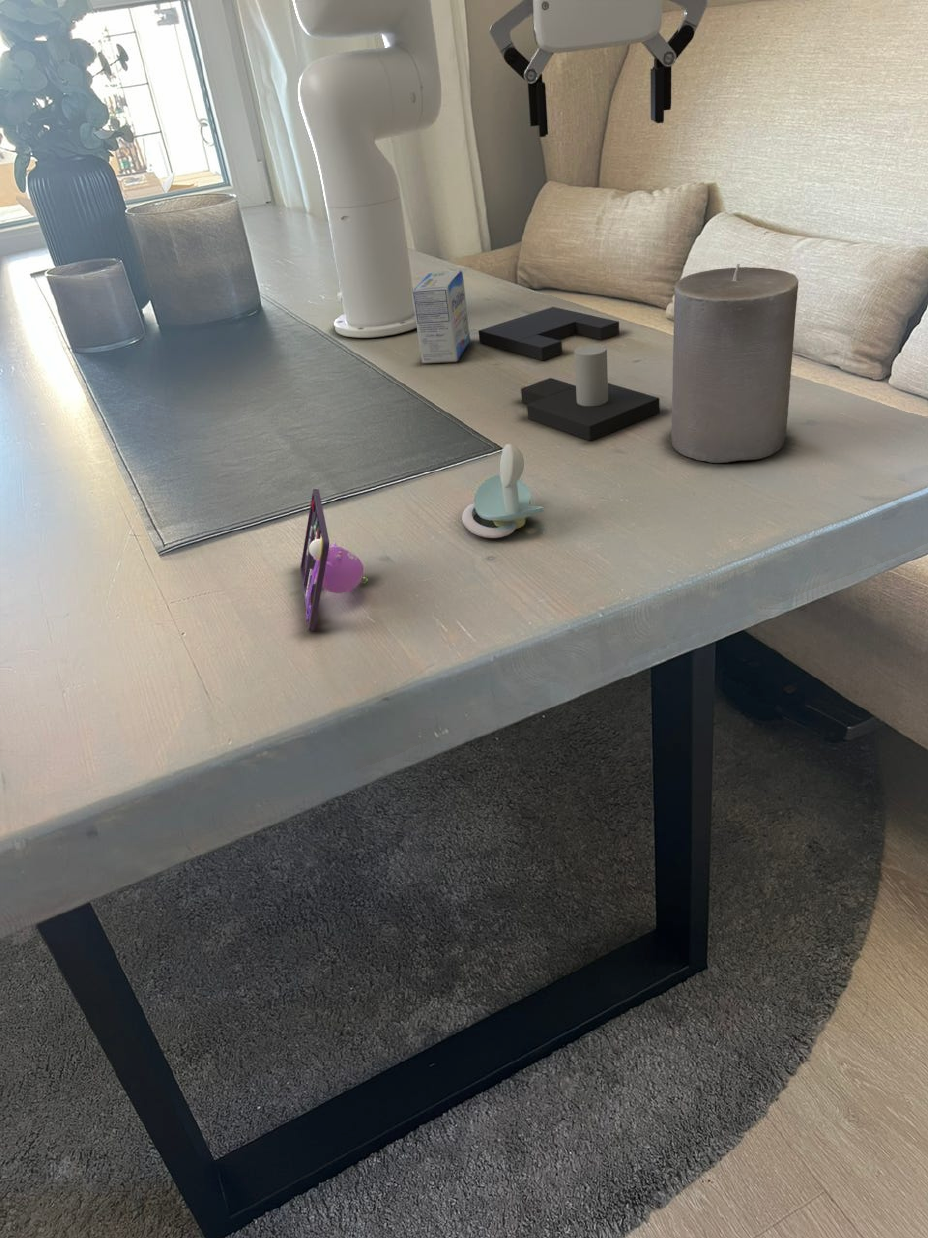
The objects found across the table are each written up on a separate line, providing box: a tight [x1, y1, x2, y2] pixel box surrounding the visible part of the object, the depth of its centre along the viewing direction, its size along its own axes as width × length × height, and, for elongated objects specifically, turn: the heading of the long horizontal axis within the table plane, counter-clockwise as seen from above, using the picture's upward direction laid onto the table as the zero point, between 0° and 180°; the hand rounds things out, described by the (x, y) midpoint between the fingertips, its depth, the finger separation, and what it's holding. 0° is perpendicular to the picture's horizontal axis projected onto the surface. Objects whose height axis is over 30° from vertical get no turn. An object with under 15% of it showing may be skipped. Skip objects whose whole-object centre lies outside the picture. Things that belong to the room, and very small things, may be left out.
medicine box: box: [412, 270, 471, 364], centre depth 111 cm, size 8×4×9 cm, turn 168°
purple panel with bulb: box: [299, 488, 369, 632], centre depth 66 cm, size 7×5×9 cm
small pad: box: [520, 344, 661, 442], centre depth 91 cm, size 13×9×6 cm
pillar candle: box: [670, 263, 799, 464], centre depth 78 cm, size 10×10×15 cm
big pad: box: [478, 306, 620, 361], centre depth 113 cm, size 12×12×2 cm
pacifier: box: [461, 443, 544, 539], centre depth 72 cm, size 7×6×6 cm
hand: (599, 128), depth 80 cm, fingers open, 9 cm apart
